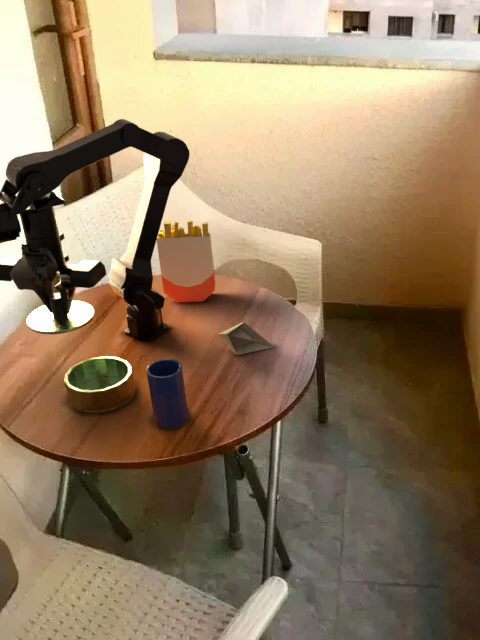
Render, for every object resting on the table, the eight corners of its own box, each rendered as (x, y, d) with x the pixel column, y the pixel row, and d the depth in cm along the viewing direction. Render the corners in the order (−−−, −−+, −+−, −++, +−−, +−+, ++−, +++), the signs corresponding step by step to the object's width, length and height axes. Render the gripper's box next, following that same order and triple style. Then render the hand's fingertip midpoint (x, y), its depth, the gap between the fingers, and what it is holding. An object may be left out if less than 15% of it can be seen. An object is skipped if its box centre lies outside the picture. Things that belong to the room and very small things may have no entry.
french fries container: (167, 293, 160) (156, 215, 150) (216, 291, 161) (209, 213, 151) (165, 303, 156) (154, 223, 146) (215, 300, 157) (208, 221, 147)
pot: (103, 371, 134) (99, 350, 131) (148, 388, 129) (145, 367, 126) (55, 401, 126) (50, 379, 123) (102, 421, 121) (97, 399, 118)
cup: (170, 405, 124) (162, 355, 119) (195, 414, 122) (189, 364, 116) (147, 421, 120) (138, 371, 115) (173, 432, 118) (165, 381, 112)
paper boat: (255, 326, 145) (287, 330, 138) (249, 358, 144) (281, 363, 138) (209, 314, 136) (241, 317, 130) (202, 348, 136) (234, 352, 129)
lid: (64, 300, 141) (58, 276, 138) (109, 315, 135) (104, 290, 133) (13, 326, 132) (6, 301, 129) (59, 344, 127) (52, 317, 124)
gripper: (-36, 247, 120) (-11, 329, 128) (68, 255, 116) (86, 339, 125) (2, 222, 129) (23, 301, 137) (99, 229, 125) (114, 309, 134)
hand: (60, 312), depth 133 cm, fingers closed on lid, 3 cm apart
